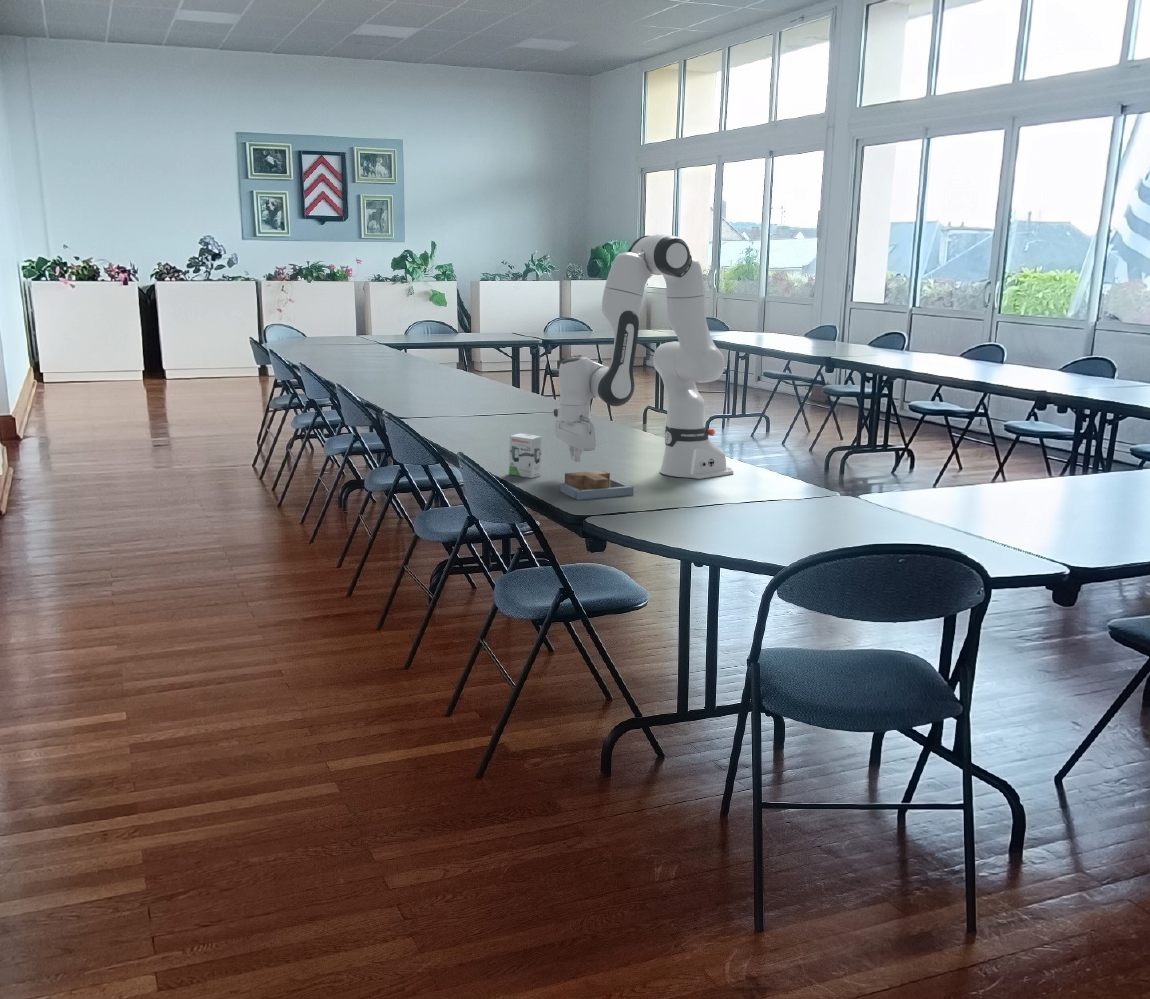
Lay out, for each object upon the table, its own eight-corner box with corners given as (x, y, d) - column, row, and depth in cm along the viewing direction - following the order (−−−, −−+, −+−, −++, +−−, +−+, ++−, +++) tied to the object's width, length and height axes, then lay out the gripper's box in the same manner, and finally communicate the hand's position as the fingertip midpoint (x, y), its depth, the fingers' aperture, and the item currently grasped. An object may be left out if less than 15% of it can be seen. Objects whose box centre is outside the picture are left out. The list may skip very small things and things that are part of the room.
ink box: (508, 474, 311) (508, 435, 309) (517, 471, 315) (518, 432, 313) (531, 478, 307) (532, 438, 304) (541, 475, 311) (542, 436, 308)
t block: (602, 486, 299) (603, 470, 298) (621, 494, 289) (621, 478, 288) (564, 489, 294) (564, 473, 293) (581, 497, 284) (582, 481, 283)
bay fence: (614, 486, 298) (614, 479, 298) (633, 494, 288) (633, 486, 288) (560, 491, 291) (560, 483, 290) (577, 499, 281) (577, 491, 281)
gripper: (601, 417, 291) (601, 466, 295) (569, 407, 309) (570, 453, 313) (580, 419, 289) (581, 469, 292) (550, 409, 307) (551, 455, 310)
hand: (575, 460), depth 303 cm, fingers closed
